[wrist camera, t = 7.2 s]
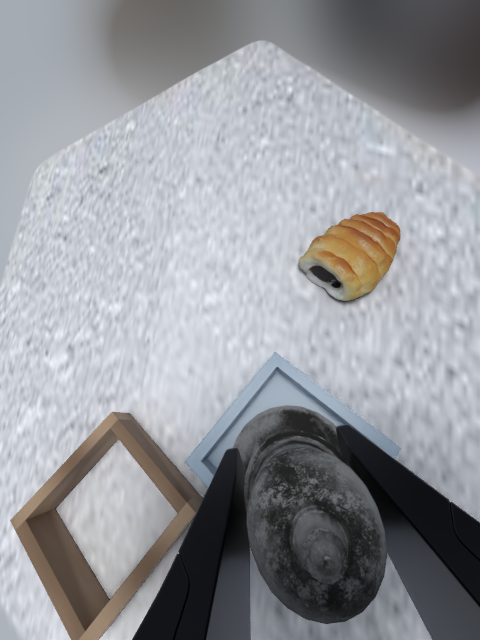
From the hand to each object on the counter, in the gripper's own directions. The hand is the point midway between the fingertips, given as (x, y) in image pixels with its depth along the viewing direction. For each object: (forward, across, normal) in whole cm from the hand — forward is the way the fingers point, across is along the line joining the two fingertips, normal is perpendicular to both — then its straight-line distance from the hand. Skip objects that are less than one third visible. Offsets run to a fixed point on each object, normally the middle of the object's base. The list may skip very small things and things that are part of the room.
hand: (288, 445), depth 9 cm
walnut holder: (+6, +13, +10) cm, 17 cm away
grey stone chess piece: (+4, 0, +6) cm, 7 cm away
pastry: (+18, -10, -2) cm, 20 cm away
